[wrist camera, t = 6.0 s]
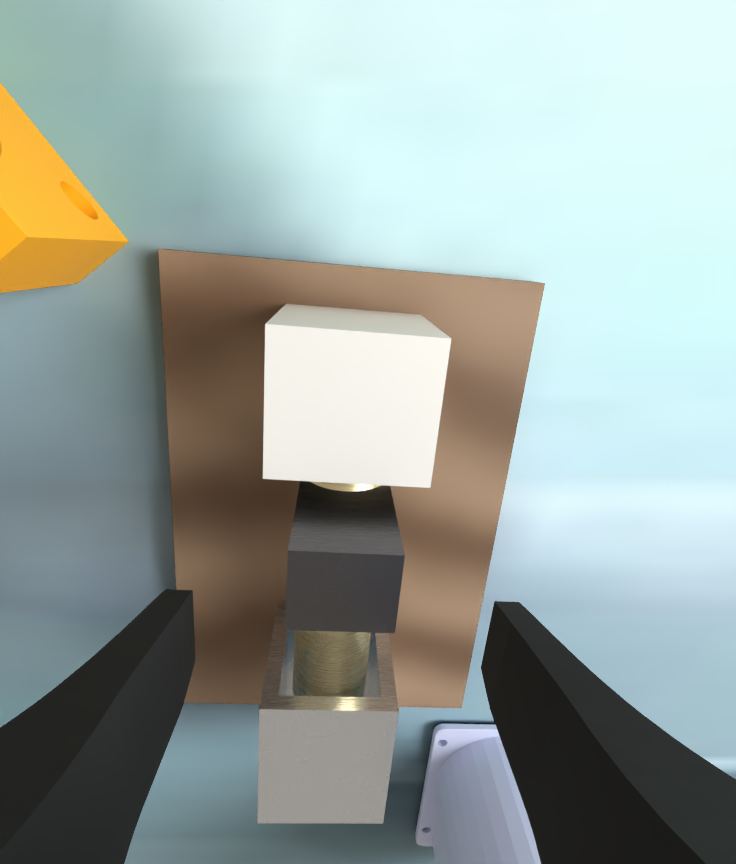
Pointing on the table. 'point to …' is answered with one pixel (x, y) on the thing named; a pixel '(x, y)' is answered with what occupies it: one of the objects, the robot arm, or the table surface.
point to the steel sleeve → (325, 741)
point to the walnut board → (276, 499)
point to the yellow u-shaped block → (45, 211)
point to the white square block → (352, 396)
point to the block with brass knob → (341, 583)
